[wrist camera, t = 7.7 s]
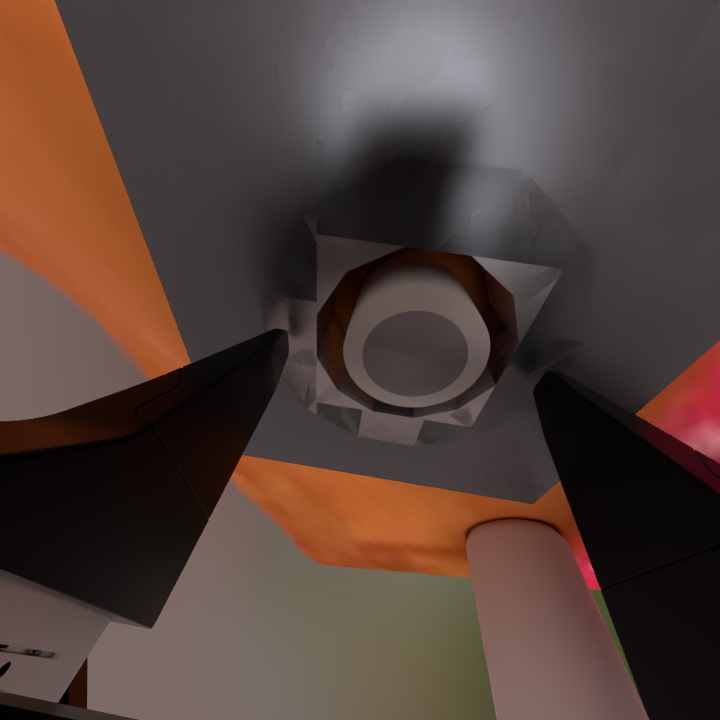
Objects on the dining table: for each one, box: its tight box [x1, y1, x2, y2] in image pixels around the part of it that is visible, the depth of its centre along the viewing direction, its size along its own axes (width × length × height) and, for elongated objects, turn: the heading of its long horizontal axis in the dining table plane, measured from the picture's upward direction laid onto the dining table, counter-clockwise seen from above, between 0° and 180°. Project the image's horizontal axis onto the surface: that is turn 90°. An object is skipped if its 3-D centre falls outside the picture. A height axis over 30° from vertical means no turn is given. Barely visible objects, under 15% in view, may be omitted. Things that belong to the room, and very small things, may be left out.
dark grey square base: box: [55, 0, 720, 504], centre depth 11 cm, size 18×18×4 cm
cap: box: [343, 254, 490, 407], centre depth 11 cm, size 5×5×4 cm
